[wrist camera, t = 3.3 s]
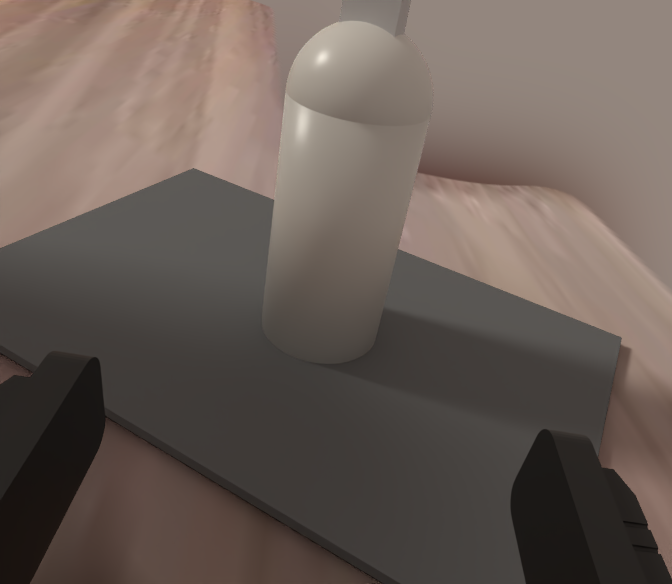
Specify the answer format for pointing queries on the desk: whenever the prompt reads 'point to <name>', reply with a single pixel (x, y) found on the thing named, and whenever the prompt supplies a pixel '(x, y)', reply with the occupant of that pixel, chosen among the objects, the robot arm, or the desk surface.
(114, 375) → the desk mat
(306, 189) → the white domed bottle
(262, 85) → the desk surface
